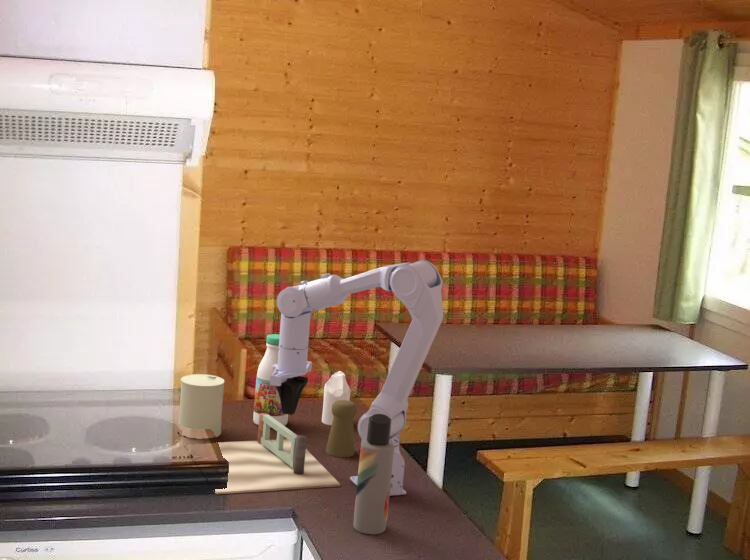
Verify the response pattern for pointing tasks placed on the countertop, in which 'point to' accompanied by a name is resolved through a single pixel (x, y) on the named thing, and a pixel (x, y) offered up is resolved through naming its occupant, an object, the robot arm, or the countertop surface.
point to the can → (201, 402)
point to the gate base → (271, 467)
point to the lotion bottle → (374, 477)
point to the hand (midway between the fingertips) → (288, 413)
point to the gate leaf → (278, 439)
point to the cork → (342, 429)
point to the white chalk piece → (334, 395)
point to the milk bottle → (268, 385)
